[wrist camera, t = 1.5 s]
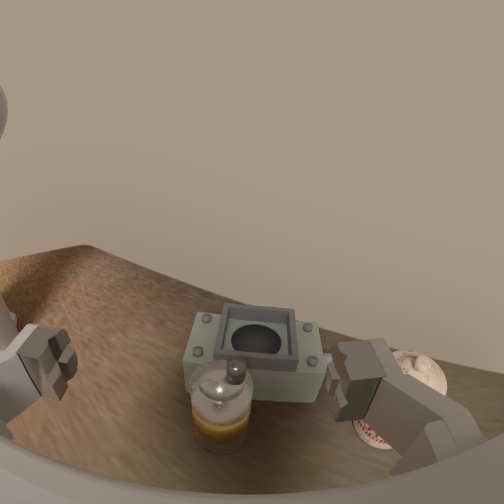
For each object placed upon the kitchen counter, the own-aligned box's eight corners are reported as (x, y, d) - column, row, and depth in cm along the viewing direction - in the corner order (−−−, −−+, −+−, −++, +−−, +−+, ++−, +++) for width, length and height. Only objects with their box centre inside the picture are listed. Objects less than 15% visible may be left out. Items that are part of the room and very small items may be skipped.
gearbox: (186, 391, 34) (180, 348, 30) (198, 343, 42) (197, 299, 38) (344, 402, 34) (364, 361, 30) (334, 354, 42) (349, 312, 38)
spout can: (191, 451, 26) (179, 383, 20) (199, 411, 31) (193, 333, 26) (244, 457, 26) (255, 392, 20) (247, 416, 31) (258, 340, 26)
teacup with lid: (337, 432, 30) (372, 370, 24) (367, 386, 36) (398, 322, 31) (419, 470, 23) (476, 417, 18) (438, 418, 30) (482, 359, 24)
